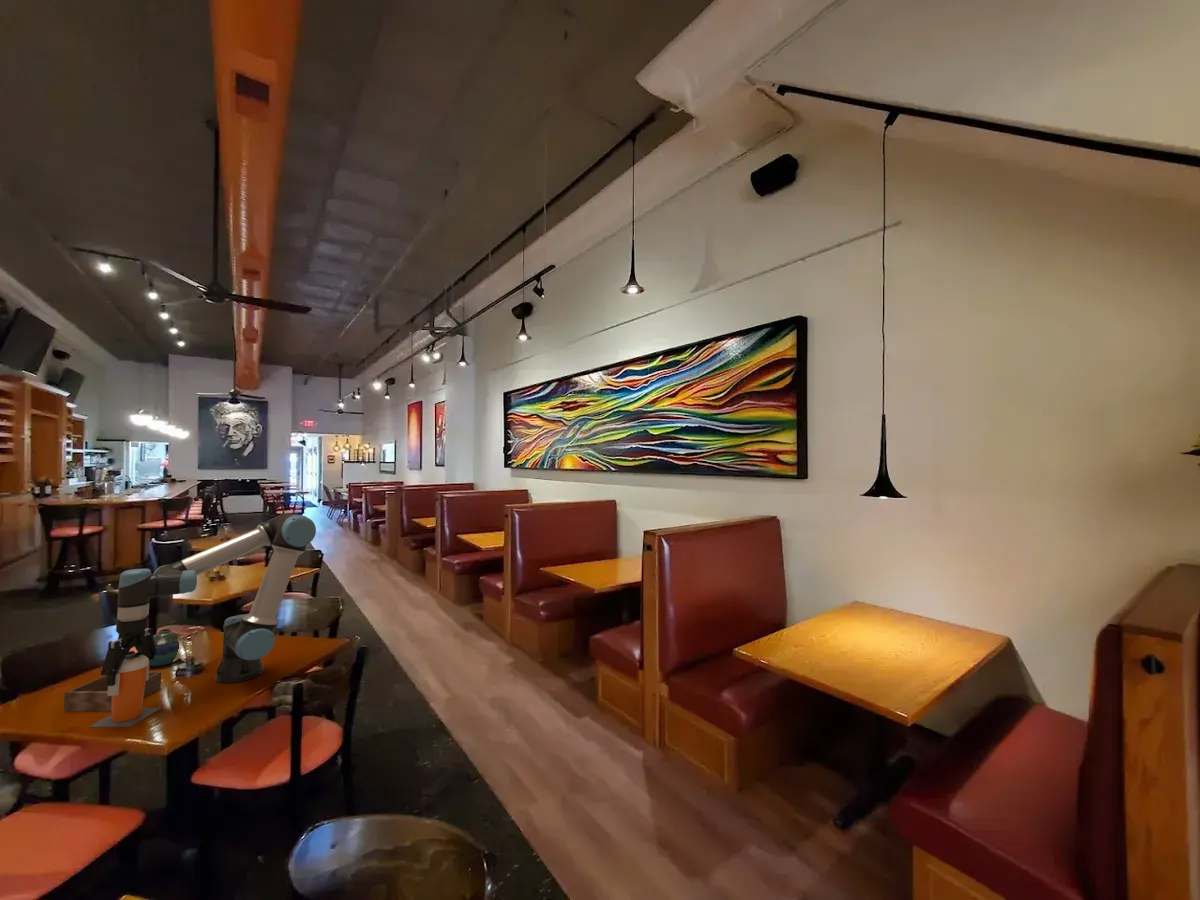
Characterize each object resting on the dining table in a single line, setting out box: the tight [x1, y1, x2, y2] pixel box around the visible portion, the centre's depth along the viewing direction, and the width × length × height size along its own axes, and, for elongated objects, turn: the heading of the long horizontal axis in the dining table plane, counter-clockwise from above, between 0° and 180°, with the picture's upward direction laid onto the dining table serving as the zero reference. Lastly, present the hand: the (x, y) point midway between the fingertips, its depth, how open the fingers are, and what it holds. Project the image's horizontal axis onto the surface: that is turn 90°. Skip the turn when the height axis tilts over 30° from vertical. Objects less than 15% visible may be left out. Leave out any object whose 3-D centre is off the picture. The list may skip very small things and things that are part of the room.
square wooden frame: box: [63, 671, 162, 712], centre depth 172 cm, size 17×17×6 cm
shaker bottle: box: [110, 650, 149, 722], centre depth 160 cm, size 9×9×20 cm
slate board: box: [88, 707, 163, 729], centre depth 160 cm, size 12×12×1 cm
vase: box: [150, 628, 182, 667], centre depth 203 cm, size 15×15×13 cm
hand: (128, 687), depth 160 cm, fingers open, 10 cm apart
